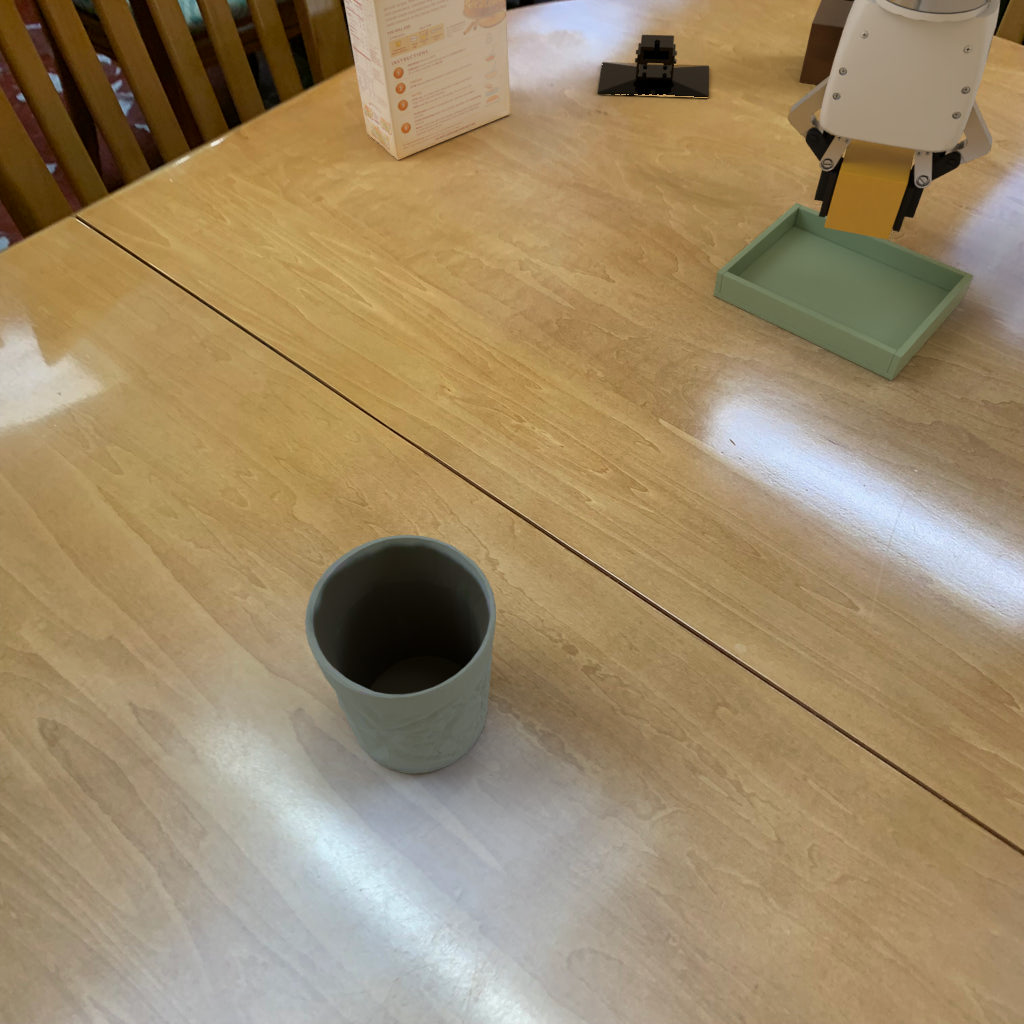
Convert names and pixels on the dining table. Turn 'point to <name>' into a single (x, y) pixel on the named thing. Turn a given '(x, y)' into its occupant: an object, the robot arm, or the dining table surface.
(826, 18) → the base block
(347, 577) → the grey green cup
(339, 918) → the dining table surface
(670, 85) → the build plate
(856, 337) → the tray
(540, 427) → the dining table surface
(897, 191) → the top block
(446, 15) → the coffeecake box
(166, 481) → the dining table surface
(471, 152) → the dining table surface
